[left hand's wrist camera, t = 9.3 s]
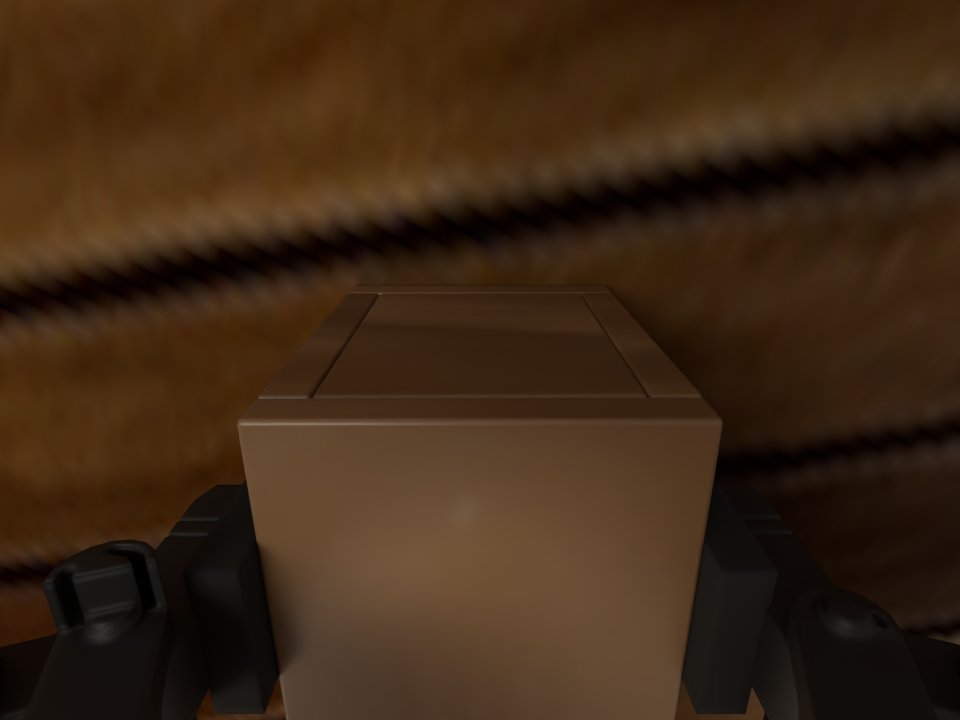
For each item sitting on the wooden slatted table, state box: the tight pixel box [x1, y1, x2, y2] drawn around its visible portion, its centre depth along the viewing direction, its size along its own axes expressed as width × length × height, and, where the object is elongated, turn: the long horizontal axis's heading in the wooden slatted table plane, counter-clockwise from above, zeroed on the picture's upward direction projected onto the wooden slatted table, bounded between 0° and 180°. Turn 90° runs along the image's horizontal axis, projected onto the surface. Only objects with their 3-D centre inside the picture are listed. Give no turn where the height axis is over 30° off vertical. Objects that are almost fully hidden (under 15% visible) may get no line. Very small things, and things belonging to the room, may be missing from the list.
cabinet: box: [237, 285, 723, 720], centre depth 14 cm, size 16×7×8 cm, turn 0°
